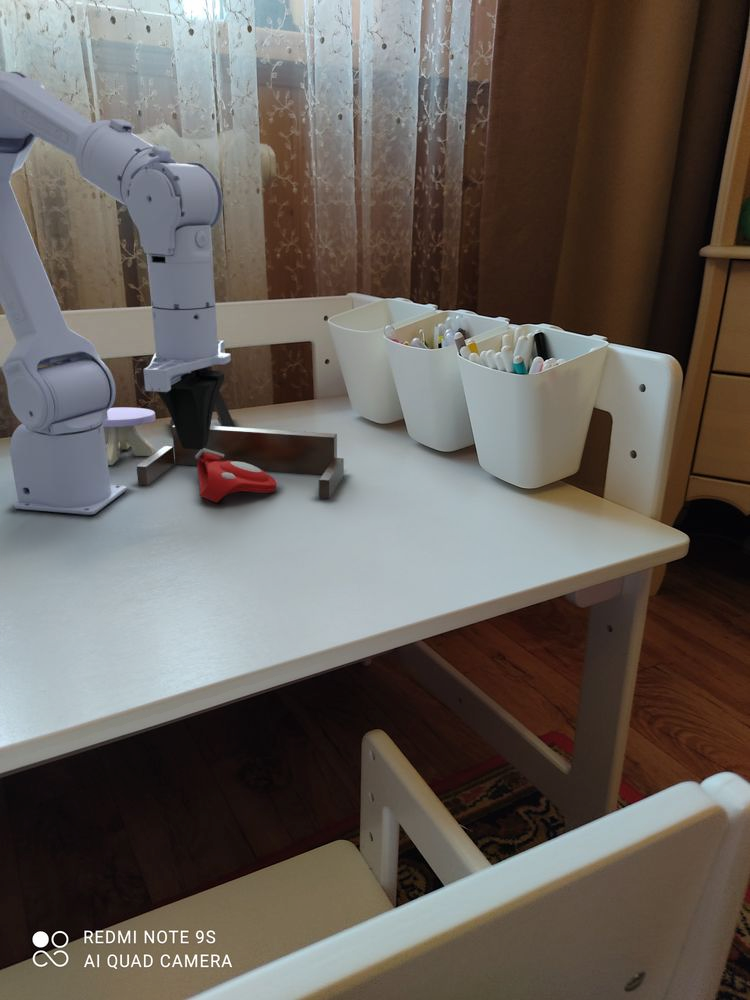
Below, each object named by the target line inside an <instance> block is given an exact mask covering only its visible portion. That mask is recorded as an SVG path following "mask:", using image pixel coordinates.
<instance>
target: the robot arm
mask: <svg viewBox="0 0 750 1000" xmlns="http://www.w3.org/2000/svg"><path fill="white" fill-rule="evenodd" d="M133 129H134V125H133V124H131V123H130V122H129V121H127V120H125V119H119V118H111V119H101V120H98V121H95V122H92V121H90V120H89V119H87V118H85V116H83V115H81V114H80V113H78V112H77V110H75V109H73V108H72V107H70V106H68V104H66V103H65V102H64V101H62V100H60V99H59V98H58V97H57V96H55V95H53V94H52V93H51V92H49V91H48V90H47V89H45V86H44V84H43V82H42V81H40V80H38V79H35V78H31V77H30V76H29V75H28V74H26V73H24V72H21V71H4V70H0V306H1V308H2V311H3V312H4V313H3V314H4V315H5V317H6V320H7V322H8V325H9V328H10V330H11V332H12V334H13V337H14V340H15V342H16V343H15V345H14V346H13V348H12V350H11V351H10V353H9V354H8V356H7V357H6V358H5V360H4V362H3V363H2V365H1V367H0V368H1V371H2V373H3V376H4V378H5V382H6V387H7V399H8V403H9V407H10V409H11V411H12V413H13V414H14V416H15V417H16V418H17V420H18V421H19V422H20V423H21V424H19V425H18V426H17V427H16V428H15V429H14V431H13V433H12V436H11V440H10V447H9V454H10V462H11V467H12V472H13V473H12V474H13V479H14V484H15V485H14V486H15V489H16V496H17V502H16V503H14V505H13V506H14V508H15V509H17V510H29V511H41V512H53V513H62V514H63V513H64V514H65V513H66V514H77V515H88V516H93V515H96V514H97V513H98V512H100V511H101V510H102V509H104V508H105V507H106V506H107V505H108V504H111V502H113V501H114V500H115V499H116V498H118V497H119V496H121V495H122V494H123V493H125V492H126V491H127V486H125V485H116V484H111V477H110V471H109V470H110V469H109V465H108V460H107V452H106V450H107V444H105V436H104V428H103V421H104V420H107V419H108V415H107V410H109V409H110V408H113V405H114V404H115V401H116V394H117V389H116V382H115V379H114V376H113V374H112V372H111V370H110V369H109V368H108V366H107V365H106V364H105V362H104V361H102V359H101V358H100V356H99V354H98V351H97V350H96V346H95V344H94V343H93V342H92V341H90V340H89V339H87V338H86V337H84V336H82V335H80V334H78V333H77V332H75V331H73V330H72V329H70V328H69V326H68V324H67V321H66V319H65V316H64V315H63V312H62V309H61V306H60V305H59V302H58V299H57V297H56V294H55V292H54V289H53V287H52V285H51V282H50V279H49V277H48V274H47V272H46V270H45V267H44V264H43V262H42V259H41V257H40V255H39V252H38V250H37V247H36V245H35V242H34V239H33V237H32V234H31V232H30V229H29V227H28V224H27V221H26V220H25V217H24V215H23V212H22V210H21V207H20V204H19V203H18V199H17V197H16V193H15V192H14V189H13V187H12V185H11V179H12V175H13V174H14V173H16V171H19V170H20V169H22V168H23V166H24V164H25V162H26V160H27V158H28V157H29V155H30V152H31V150H32V148H33V146H34V145H35V142H36V141H37V138H38V139H40V140H42V141H44V142H45V143H47V144H49V145H50V146H52V147H54V148H56V149H58V150H59V151H62V152H64V153H65V154H67V155H69V156H71V157H73V158H74V160H75V165H76V168H77V171H78V173H79V174H80V176H81V177H82V178H83V179H84V180H85V181H87V182H88V183H89V184H91V185H93V186H94V187H96V188H97V189H99V190H100V191H101V192H104V193H105V194H107V195H108V196H109V197H111V198H113V199H114V200H115V201H117V202H119V203H121V204H122V205H123V206H125V207H126V209H127V211H128V214H129V216H130V218H131V220H132V222H133V223H134V225H135V227H136V229H137V231H138V233H139V234H138V235H139V243H140V247H141V248H142V249H143V253H144V254H146V261H147V270H148V281H149V283H148V284H149V292H150V294H149V295H150V302H151V303H150V305H151V313H152V314H151V316H152V325H153V326H152V327H153V336H154V348H155V353H154V354H153V356H152V358H151V361H150V363H149V365H148V366H147V367H144V368H143V369H142V370H143V379H144V390H145V391H146V392H156V393H157V395H158V396H159V397H160V399H161V400H162V402H163V404H164V406H165V407H166V409H167V411H168V413H169V416H170V417H171V418H172V420H173V423H174V426H175V429H176V431H177V434H178V437H179V440H180V443H181V445H182V448H183V449H197V450H202V449H203V448H205V447H206V446H207V442H208V438H209V432H210V425H211V420H213V419H212V417H213V413H214V409H215V406H214V404H215V401H216V398H217V395H218V392H219V391H220V389H221V388H222V385H223V384H224V382H225V372H224V371H222V370H212V369H211V370H208V367H209V366H211V367H213V366H216V365H227V364H229V363H230V362H231V361H232V357H231V353H226V346H225V340H218V327H217V324H218V323H217V308H216V307H217V306H216V292H215V291H216V290H215V277H214V275H215V274H214V260H213V258H214V257H213V243H212V241H213V240H212V229H213V228H214V227H216V225H217V223H218V222H219V221H220V219H221V217H222V214H223V207H224V197H223V190H222V188H221V187H222V186H221V185H220V182H219V180H218V179H217V177H216V175H214V173H213V172H211V170H210V169H208V168H207V167H206V166H205V164H204V163H202V162H199V161H188V162H185V163H178V162H177V160H175V158H173V156H171V155H172V151H171V150H170V149H168V148H166V146H164V145H153V144H151V143H150V142H148V141H146V140H145V139H143V138H141V137H139V136H138V135H136V134H135V133H134V132H133ZM47 365H48V366H47ZM38 367H39V368H38Z"/></svg>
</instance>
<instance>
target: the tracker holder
mask: <svg viewBox="0 0 750 1000" xmlns="http://www.w3.org/2000/svg"><path fill="white" fill-rule="evenodd" d="M223 457H224V454H221V453H218V452H215V451H211V450H208V449H205V448H203V449H202V450H200V451H199V452H198V453H197V455H196V456H195V458H197V459H199V460H198V466H196V467H197V475H198V480H199V497H201V498H204V499H206V500H209V501H211V502H213V503H219V502H220V501H221V500H222V499H223V498H224V497H225V496H226V495H229V494H232V493H237V492H251V493H262V494H270V493H274V492H275V491H276V489H277V483H278V482H277V480H276V479H275V478H274V477H273V476H271V475H269V474H268V473H266V471H263V470H262V469H260V468H259V467H257V466H255V465H252V464H249V463H246V462H242V461H235V460H230V461H221V459H222V458H223Z"/></svg>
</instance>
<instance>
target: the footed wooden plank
mask: <svg viewBox="0 0 750 1000" xmlns="http://www.w3.org/2000/svg"><path fill="white" fill-rule="evenodd" d="M171 432H172V433H171V434H172V444H173V446H169V445H164V446H162V447H161V448H159V449H157V451H156V452H154V454H153V455H151V456H148V457H147V458H146V459H144V460H143V461H142V462H140V463H139V464H137V465H136V475H137V484H138V486H149V485H150V484H152V483H154V481H155V480H157V479H158V478H159V477H161V476H162V475H163V474H165V472H167V471H168V470H170V469H171V468H172V467H173V466H174V465H180V466H181V465H183V466H194V467H195V466H196V467H197V466H198V460H199V459H197V458H195V456H196V455H197V453H198V452H199V451H200V450H197V449H183V448H182V445H181V443H180V440H179V437H178V434H177V431H176V429H175V426H173V427H171ZM205 449H208V450H211V451H215V452H218V453H221V454H224V457H223V458H222V459H221V461H230V460H235V461H242V462H246V463H249V464H252V465H255V466H257V467H259V468H260V469H262V470H263V471H264V472H279V473H293V474H305V475H306V474H307V475H320V477H319V478H318V499H319V500H326V501H327V500H330V499H331V498H332V497H333V494H334V493H335V491H336V489H337V488H338V486H339V485H340V483H341V481H342V480H343V478H344V476H345V475H344V474H345V472H344V471H345V468H344V467H345V466H344V465H345V461H344V458H343V457H338V433H332V432H317V431H316V432H314V431H301V430H300V431H299V430H285V429H271V428H270V429H268V428H256V427H255V428H254V427H239V426H238V427H237V426H235V427H223V426H210V432H209V438H208V442H207V446H206V447H205Z"/></svg>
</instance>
